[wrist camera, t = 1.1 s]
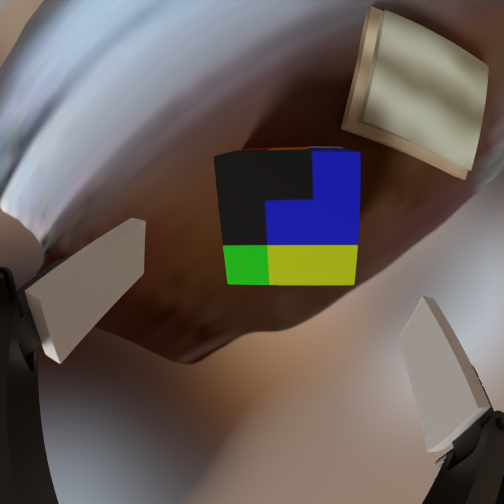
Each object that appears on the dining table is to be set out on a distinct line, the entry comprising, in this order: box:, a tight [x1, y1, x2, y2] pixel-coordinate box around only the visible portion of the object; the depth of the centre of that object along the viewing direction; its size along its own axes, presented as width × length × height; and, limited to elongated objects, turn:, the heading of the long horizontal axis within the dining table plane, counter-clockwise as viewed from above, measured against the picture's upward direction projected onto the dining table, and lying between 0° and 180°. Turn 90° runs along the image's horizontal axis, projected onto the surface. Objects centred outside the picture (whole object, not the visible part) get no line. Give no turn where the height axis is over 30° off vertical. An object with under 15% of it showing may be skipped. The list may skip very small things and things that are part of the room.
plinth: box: [341, 7, 489, 180], centre depth 19 cm, size 14×14×5 cm
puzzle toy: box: [214, 146, 361, 285], centre depth 24 cm, size 10×10×10 cm
